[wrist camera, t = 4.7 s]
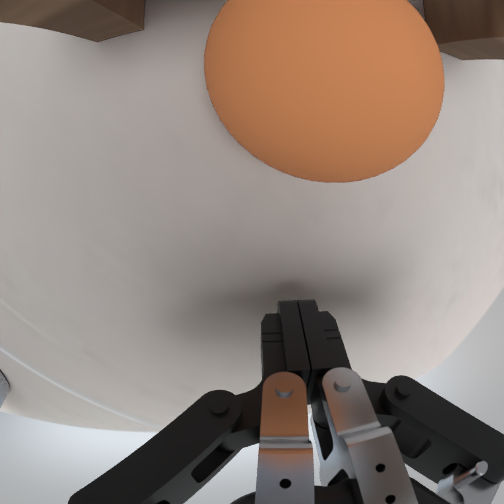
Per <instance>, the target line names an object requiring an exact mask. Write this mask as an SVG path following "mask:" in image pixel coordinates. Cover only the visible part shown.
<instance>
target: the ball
mask: <svg viewBox="0 0 504 504" xmlns="http://www.w3.org/2000/svg"><path fill="white" fill-rule="evenodd" d="M204 71H205V79H206V85H207V90H208V93H209V96H210V99H211V102H212V104H213V106H214V108H215V110H216V112H217V114H218V116H219V118H220V120H221V121H222V123H223V124H224V126H225V127H226V129H227V130H228V132H229V133H230V134H231V135H232V136H233V137H234V138H235V139H236V140H237V141H238V143H239V144H241V145H242V146H243V147H244V148H245V149H246V150H248V151H249V152H250V153H251V154H252V155H253V156H255V157H256V158H258V159H259V160H261V161H262V162H264V163H265V164H267V165H269V166H271V167H273V168H275V169H277V170H279V171H281V172H284V173H286V174H289V175H292V176H294V177H298V178H302V179H306V180H310V181H318V182H352V181H360V180H364V179H367V178H371V177H375V176H377V175H379V174H382V173H384V172H386V171H388V170H391V169H393V168H394V167H396V166H398V165H399V164H401V163H402V162H404V161H405V160H406V159H408V158H409V157H410V156H411V155H412V154H413V153H414V152H415V151H416V150H418V149H419V148H420V146H421V145H422V144H423V143H424V141H425V140H426V139H427V138H428V136H429V134H430V132H431V130H432V129H433V127H434V125H435V123H436V121H437V119H438V116H439V113H440V110H441V106H442V101H443V94H444V70H443V64H442V58H441V55H440V51H439V48H438V45H437V43H436V41H435V39H434V37H433V34H432V32H431V30H430V28H429V27H428V25H427V24H426V22H425V20H424V19H423V18H422V16H421V15H420V14H419V12H418V11H417V10H416V9H415V8H414V7H413V6H412V5H411V4H410V3H409V2H408V1H407V0H228V1H227V2H226V3H225V4H224V6H223V7H222V9H221V10H220V12H219V13H218V15H217V17H216V19H215V20H214V22H213V24H212V27H211V29H210V32H209V35H208V39H207V43H206V48H205V54H204Z"/></svg>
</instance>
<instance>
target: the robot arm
mask: <svg viewBox="0 0 504 504" xmlns="http://www.w3.org/2000/svg"><path fill="white" fill-rule="evenodd" d="M261 364H262V381H261V382H260V384H259V385H258V386H257V387H256V388H254V389H253V390H251V391H248V392H245V393H242V394H238V395H234V394H233V393H231V392H229V391H225V390H214V391H210V392H208V393H206V394H204V395H203V396H202V397H201V398H200V399H198V400H197V401H196V402H195V403H194V404H193V405H191V406H190V407H189V408H188V409H187V410H186V411H184V412H183V413H182V414H181V415H180V416H178V417H177V418H176V419H175V420H174V421H172V422H171V423H170V424H169V425H167V426H166V427H165V428H164V429H163V430H161V431H160V432H159V433H158V434H156V435H155V436H154V437H153V438H151V439H150V440H149V441H148V442H146V443H145V444H144V445H142V446H141V447H140V448H138V449H137V450H136V451H134V452H133V453H132V454H131V455H129V456H128V457H126V458H125V459H124V460H122V461H121V462H120V463H118V464H117V465H116V466H114V467H113V468H111V469H110V470H108V471H107V472H106V473H104V474H103V475H101V476H100V477H98V478H97V479H95V480H94V481H93V482H91V483H90V484H88V485H87V486H85V487H84V488H82V489H80V490H79V491H77V492H76V493H74V494H73V495H72V496H71V497H70V499H69V501H68V504H183V503H185V502H186V501H187V500H188V499H189V498H190V497H192V496H193V495H194V494H195V493H196V492H197V491H198V490H199V489H201V488H202V487H203V486H204V485H205V484H206V483H207V482H208V481H210V480H211V479H212V478H213V477H214V476H215V475H216V474H217V473H218V472H219V471H220V470H221V469H222V468H223V467H224V466H225V465H226V464H227V463H228V462H229V461H230V460H231V459H232V458H233V457H234V456H235V455H236V454H237V453H238V452H239V451H240V450H241V449H242V448H244V447H248V446H251V445H254V444H257V443H259V454H258V468H257V482H256V492H252V493H250V494H247V495H244V496H242V497H240V498H238V499H237V500H235V501H233V502H232V503H231V504H491V502H492V500H493V498H494V496H495V494H496V492H497V490H498V488H499V485H500V483H501V482H502V481H503V480H504V434H502V433H500V432H499V431H497V430H495V429H494V428H492V427H490V426H489V425H487V424H485V423H484V422H482V421H480V420H478V419H477V418H475V417H474V416H472V415H470V414H469V413H467V412H465V411H464V410H462V409H460V408H459V407H457V406H455V405H454V404H452V403H450V402H449V401H447V400H446V399H444V398H442V397H441V396H439V395H437V394H436V393H434V392H433V391H431V390H430V389H428V388H426V387H425V386H423V385H421V384H420V383H418V382H417V381H415V380H414V379H412V378H410V377H407V376H402V375H400V376H395V377H392V378H391V379H390V380H389V381H388V382H387V383H378V382H370V381H366V380H364V379H362V378H361V377H360V376H359V375H358V374H357V373H356V372H355V371H353V370H352V369H351V366H350V363H349V360H348V357H347V353H346V350H345V347H344V344H343V341H342V339H341V335H340V332H339V330H338V326H337V323H336V320H335V318H334V317H333V316H332V315H331V314H330V313H329V312H328V311H322V312H319V311H318V307H317V304H316V301H315V300H297V301H296V300H289V301H278V308H277V313H275V314H266V315H265V316H264V318H263V320H262V322H261ZM9 390H10V387H9V384H8V382H7V380H6V379H5V377H4V376H3V375H2V373H1V372H0V408H1V406H2V404H3V402H4V400H5V398H6V396H7V394H8V392H9ZM309 404H311V408H312V415H311V420H310V421H311V426H312V430H313V435H314V439H315V443H316V447H317V451H318V456H319V460H320V481H321V485H322V486H314V466H313V465H314V464H313V447H312V443H311V441H310V440H309V432H308V412H307V405H309ZM404 463H405V464H407V465H408V466H410V467H411V468H413V469H414V470H416V471H417V472H419V473H421V474H422V475H424V476H426V477H427V478H429V479H430V480H432V481H434V482H435V483H437V484H438V488H437V490H436V494H435V493H434V492H432V491H431V490H429V489H428V488H426V487H425V486H423V485H422V484H420V483H419V482H418V481H416V480H415V479H413V478H411V477H409V475H408V472H407V470H406V467H405V464H404Z"/></svg>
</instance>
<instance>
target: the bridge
mask: <svg viewBox="0 0 504 504" xmlns="http://www.w3.org/2000/svg"><path fill="white" fill-rule="evenodd" d="M423 3H424V11H425V19H426V24H427V25H428V27H429V28H430V30H431V32H432V34H433V37H434V39H435V41H436V43H437V45H438V48H439V51H441V52H444V53H447V54H449V55H451V56H454V57H456V58H458V59H461V60H475V59H503V60H504V0H423ZM144 7H145V0H0V22H5V23H13V24H20V25H26V26H32V27H38V28H43V29H48V30H53V31H57V32H61V33H66V34H70V35H74V36H77V37H81V38H85V39H88V40H92V41H95V42H99V41H102V40H105V39H109V38H112V37H116V36H119V35H123V34H127V33H131V32H135V31H139V30H144Z"/></svg>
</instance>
